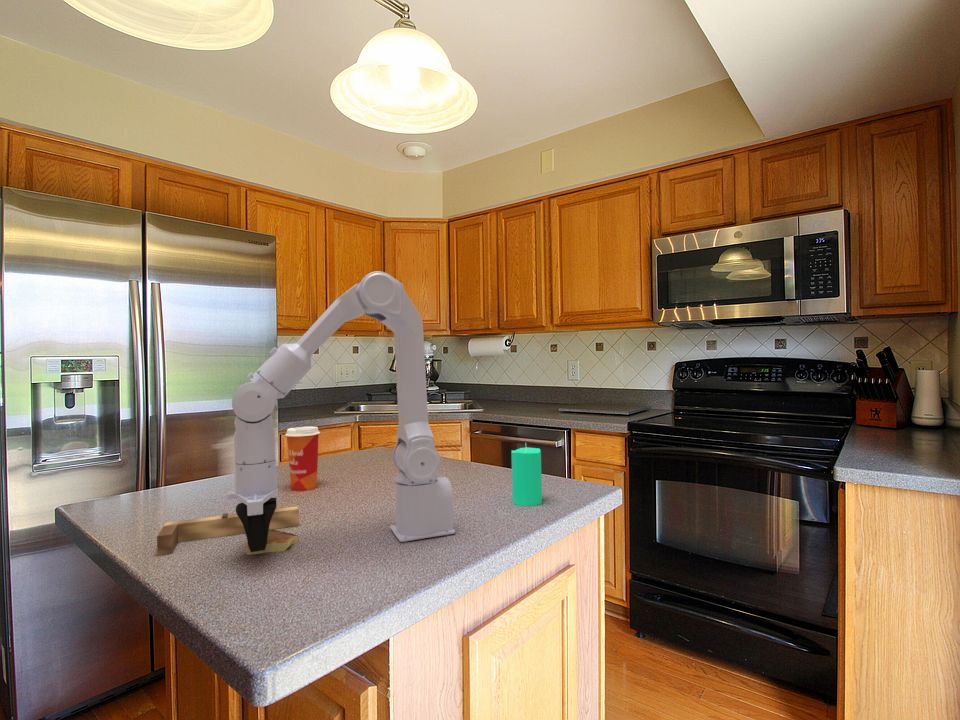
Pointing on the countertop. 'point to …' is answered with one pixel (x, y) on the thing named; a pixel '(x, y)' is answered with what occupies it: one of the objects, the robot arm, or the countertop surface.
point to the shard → (276, 542)
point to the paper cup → (303, 457)
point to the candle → (526, 476)
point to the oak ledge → (216, 528)
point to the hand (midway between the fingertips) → (257, 549)
